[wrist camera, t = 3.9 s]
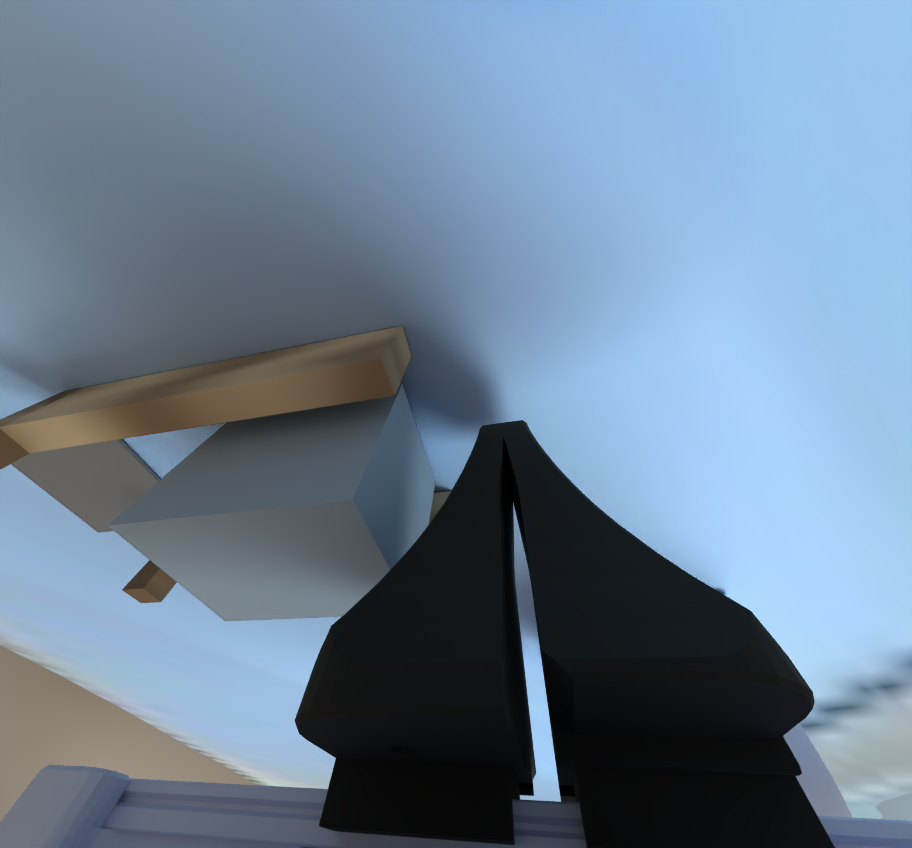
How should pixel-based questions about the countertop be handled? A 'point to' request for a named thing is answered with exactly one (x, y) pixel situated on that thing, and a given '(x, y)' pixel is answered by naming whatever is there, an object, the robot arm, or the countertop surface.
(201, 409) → the chute
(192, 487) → the block
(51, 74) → the countertop surface
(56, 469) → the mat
